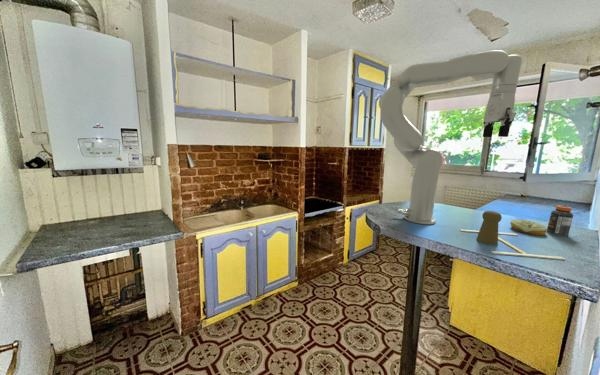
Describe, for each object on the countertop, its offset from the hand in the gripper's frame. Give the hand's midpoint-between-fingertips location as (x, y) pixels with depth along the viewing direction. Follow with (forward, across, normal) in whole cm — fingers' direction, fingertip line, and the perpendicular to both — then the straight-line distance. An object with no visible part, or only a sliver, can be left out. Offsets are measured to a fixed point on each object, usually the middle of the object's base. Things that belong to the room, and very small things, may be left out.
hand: (494, 136), depth 96 cm
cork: (+37, +20, -8) cm, 43 cm away
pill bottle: (+37, +5, +26) cm, 46 cm away
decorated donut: (+37, +4, +16) cm, 41 cm away
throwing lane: (+37, +20, -2) cm, 42 cm away
